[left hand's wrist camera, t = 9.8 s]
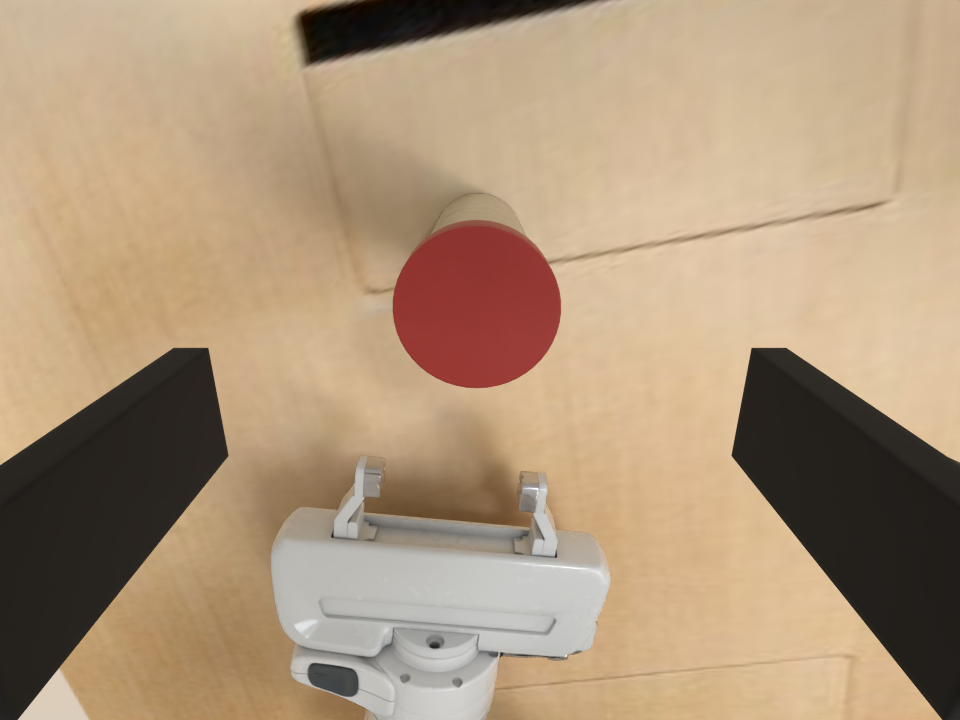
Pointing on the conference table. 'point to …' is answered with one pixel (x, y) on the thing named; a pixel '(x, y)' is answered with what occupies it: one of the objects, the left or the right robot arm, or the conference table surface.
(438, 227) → the jar
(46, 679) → the left robot arm
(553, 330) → the lid
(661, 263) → the conference table surface
